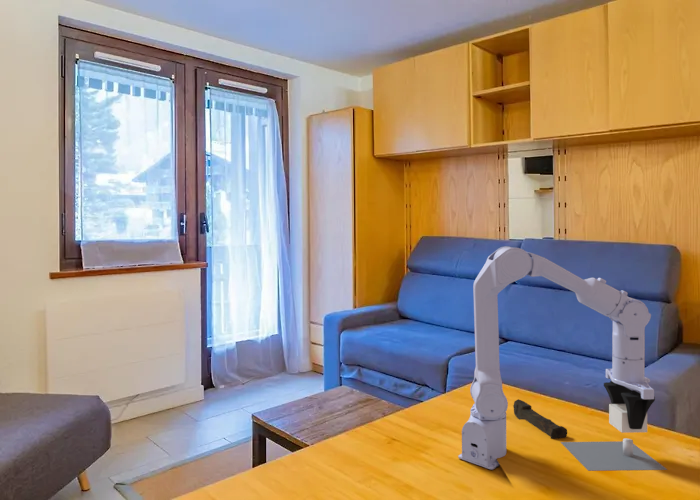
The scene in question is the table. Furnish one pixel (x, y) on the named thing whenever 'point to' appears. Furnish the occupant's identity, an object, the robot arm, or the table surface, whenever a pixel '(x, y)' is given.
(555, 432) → the hand tool
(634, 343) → the robot arm
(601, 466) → the plate
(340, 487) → the table surface
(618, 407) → the hollow square block
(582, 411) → the table surface
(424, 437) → the table surface
